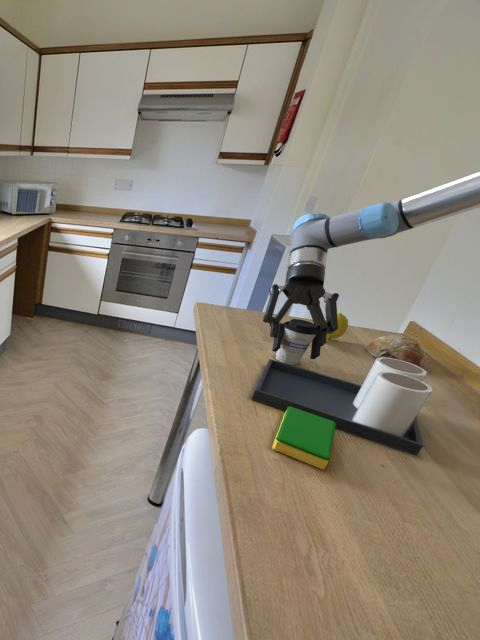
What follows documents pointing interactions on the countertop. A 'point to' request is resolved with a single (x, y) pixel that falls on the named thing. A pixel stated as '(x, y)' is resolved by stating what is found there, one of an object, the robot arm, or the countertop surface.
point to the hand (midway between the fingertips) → (295, 353)
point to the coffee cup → (295, 340)
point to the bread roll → (397, 348)
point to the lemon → (339, 327)
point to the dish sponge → (305, 437)
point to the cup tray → (326, 402)
